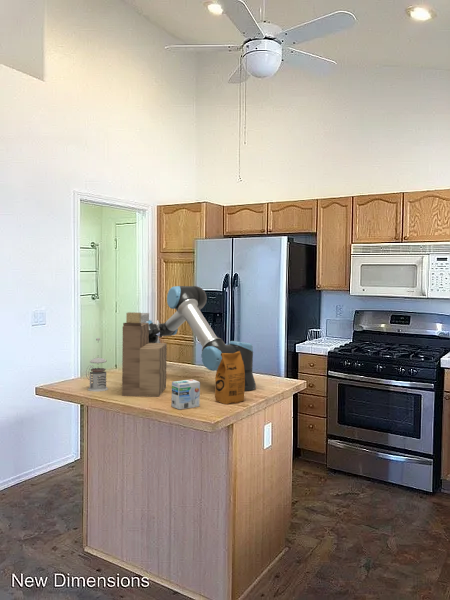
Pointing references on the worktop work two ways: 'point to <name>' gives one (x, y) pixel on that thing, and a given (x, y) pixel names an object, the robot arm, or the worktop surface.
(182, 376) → the worktop surface
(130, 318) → the wooden bar
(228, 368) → the coffee package
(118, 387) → the worktop surface
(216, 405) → the worktop surface
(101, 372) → the french press
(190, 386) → the light bulb box
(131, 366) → the stepped stand
